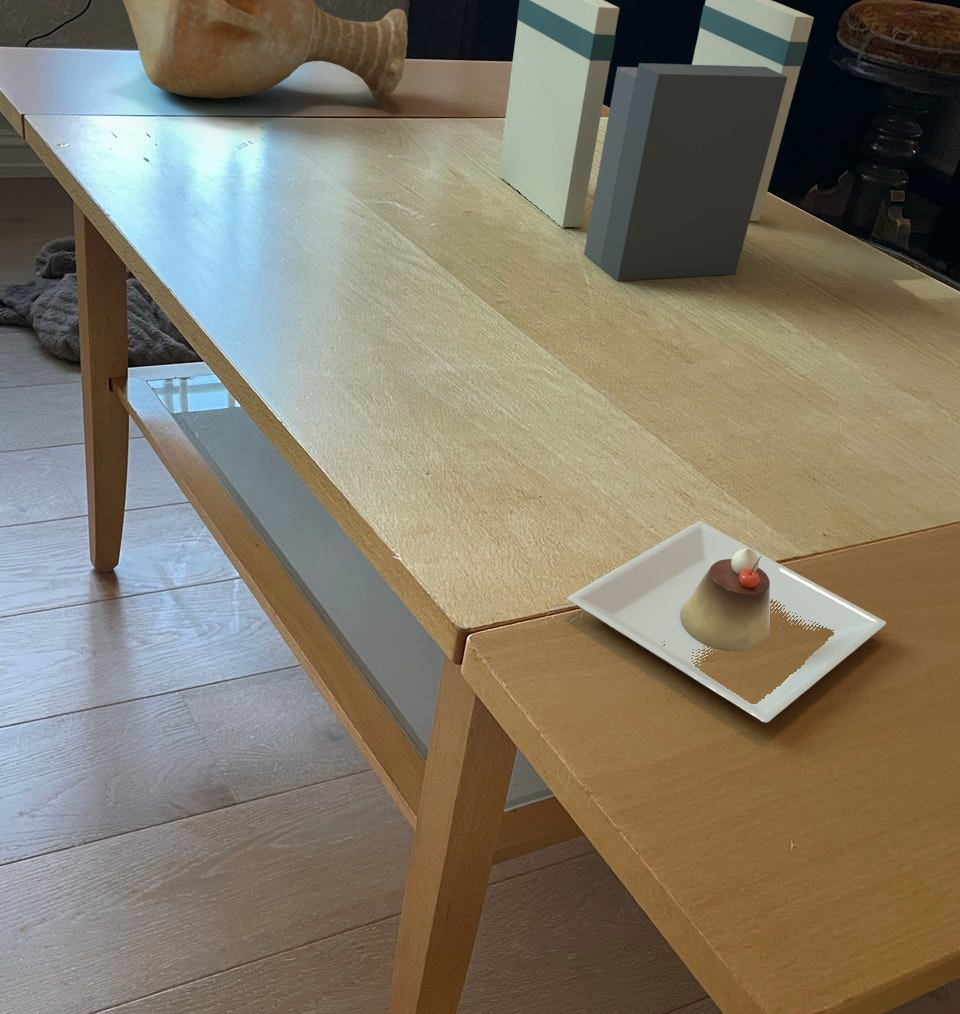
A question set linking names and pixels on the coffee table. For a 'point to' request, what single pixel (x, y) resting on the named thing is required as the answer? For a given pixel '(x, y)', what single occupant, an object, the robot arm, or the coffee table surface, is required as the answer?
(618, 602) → the dessert
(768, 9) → the cream books
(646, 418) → the coffee table surface
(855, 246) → the coffee table surface
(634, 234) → the grey books
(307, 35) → the jug
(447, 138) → the coffee table surface
